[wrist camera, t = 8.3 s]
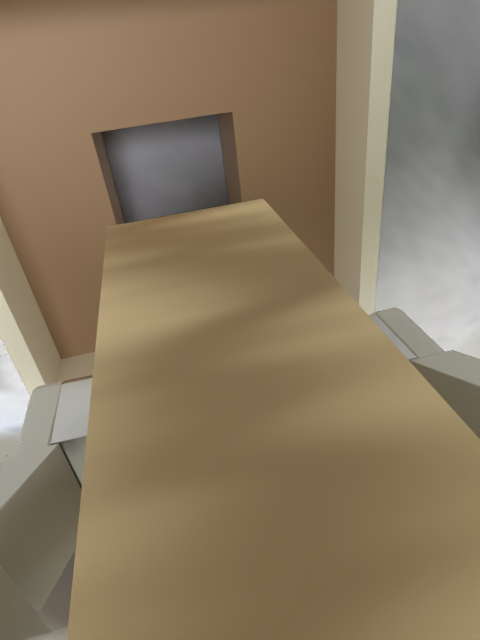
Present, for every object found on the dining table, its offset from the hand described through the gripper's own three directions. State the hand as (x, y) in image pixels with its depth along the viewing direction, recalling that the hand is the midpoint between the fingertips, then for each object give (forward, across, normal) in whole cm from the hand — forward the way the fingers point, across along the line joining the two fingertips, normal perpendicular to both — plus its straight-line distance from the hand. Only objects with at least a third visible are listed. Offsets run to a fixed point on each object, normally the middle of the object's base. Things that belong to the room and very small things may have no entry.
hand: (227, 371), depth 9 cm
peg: (+4, 0, 0) cm, 4 cm away
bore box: (+16, 0, 0) cm, 16 cm away
